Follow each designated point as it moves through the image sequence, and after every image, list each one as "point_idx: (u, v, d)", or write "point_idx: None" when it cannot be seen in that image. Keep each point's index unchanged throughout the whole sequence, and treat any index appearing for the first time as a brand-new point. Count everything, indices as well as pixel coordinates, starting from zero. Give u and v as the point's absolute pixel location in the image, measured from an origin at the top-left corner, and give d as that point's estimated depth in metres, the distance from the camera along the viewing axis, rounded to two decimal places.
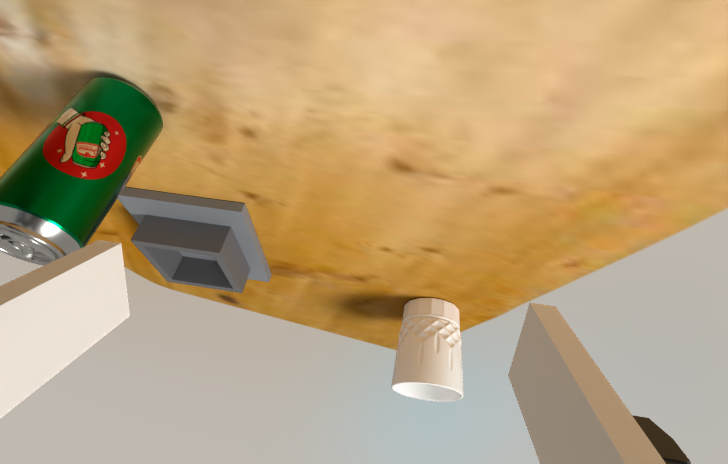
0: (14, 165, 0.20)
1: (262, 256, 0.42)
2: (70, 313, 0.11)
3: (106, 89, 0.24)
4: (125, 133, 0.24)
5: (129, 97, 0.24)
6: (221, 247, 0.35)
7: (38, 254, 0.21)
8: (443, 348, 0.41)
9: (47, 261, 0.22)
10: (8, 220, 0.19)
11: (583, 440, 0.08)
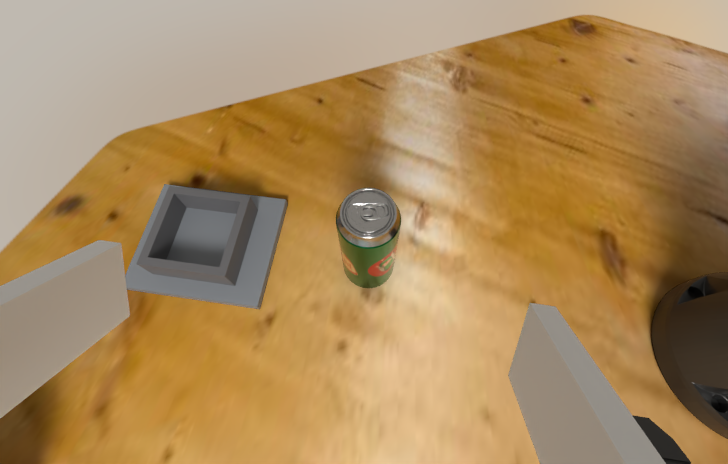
0: None
1: (172, 295, 0.38)
2: (70, 313, 0.11)
3: (392, 269, 0.38)
4: (376, 276, 0.35)
5: (385, 279, 0.37)
6: (227, 277, 0.36)
7: (351, 211, 0.29)
8: None
9: (347, 215, 0.29)
10: (393, 226, 0.29)
11: (583, 440, 0.08)
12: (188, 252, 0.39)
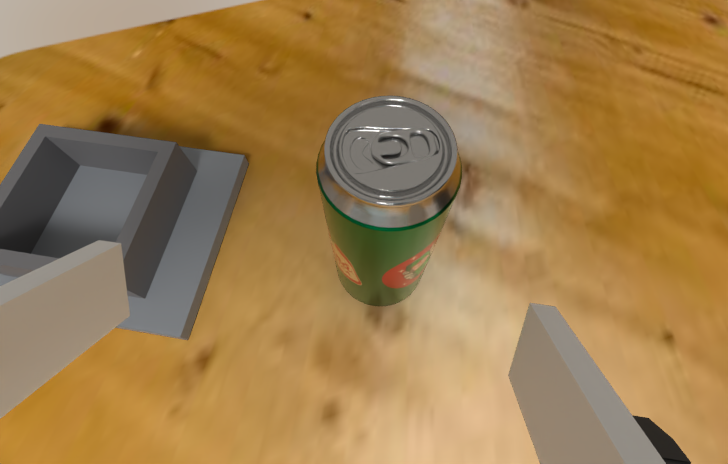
0: None
1: None
2: (70, 313, 0.11)
3: None
4: (396, 289, 0.19)
5: (409, 292, 0.21)
6: None
7: (351, 146, 0.13)
8: None
9: (342, 153, 0.12)
10: (449, 179, 0.12)
11: (583, 440, 0.08)
12: (72, 238, 0.23)
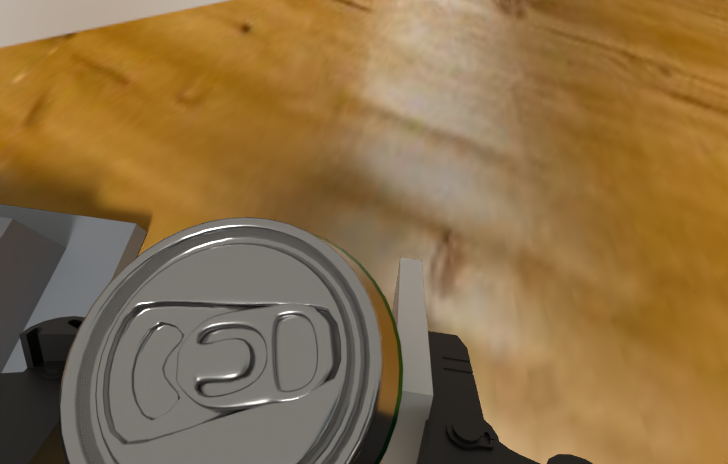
0: None
1: None
2: None
3: None
4: None
5: None
6: None
7: (144, 345, 0.05)
8: None
9: (104, 379, 0.05)
10: (363, 436, 0.05)
11: None
12: None
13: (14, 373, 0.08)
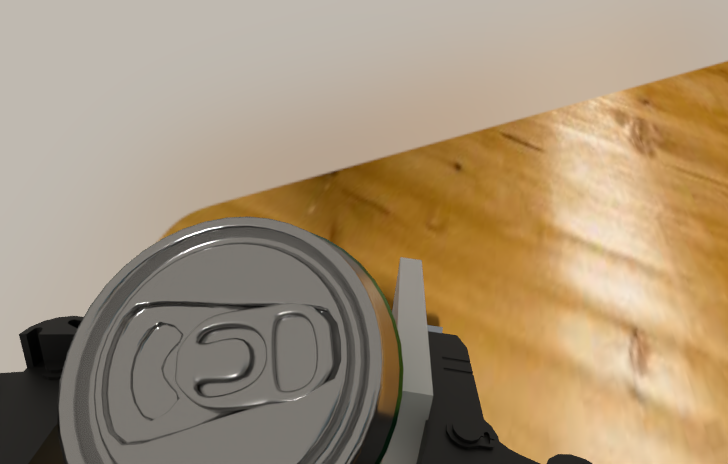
0: None
1: None
2: None
3: None
4: None
5: None
6: None
7: (142, 345, 0.05)
8: None
9: (103, 379, 0.05)
10: (364, 438, 0.05)
11: None
12: None
13: (14, 373, 0.08)
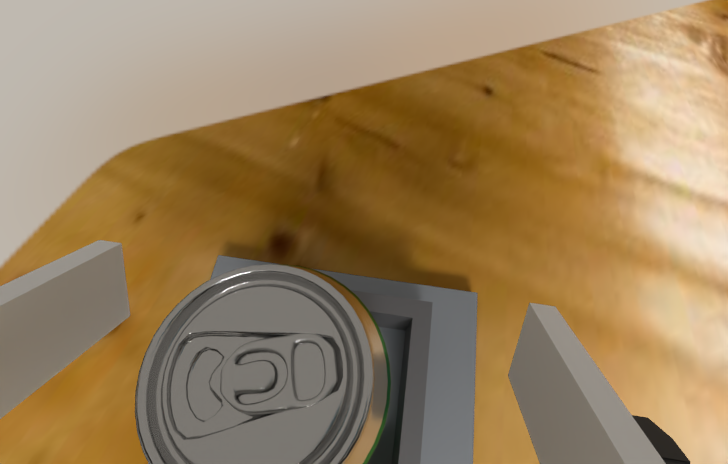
0: None
1: None
2: (70, 313, 0.11)
3: None
4: None
5: None
6: None
7: (193, 365, 0.07)
8: None
9: (167, 391, 0.07)
10: (359, 434, 0.07)
11: (583, 440, 0.08)
12: None
13: None
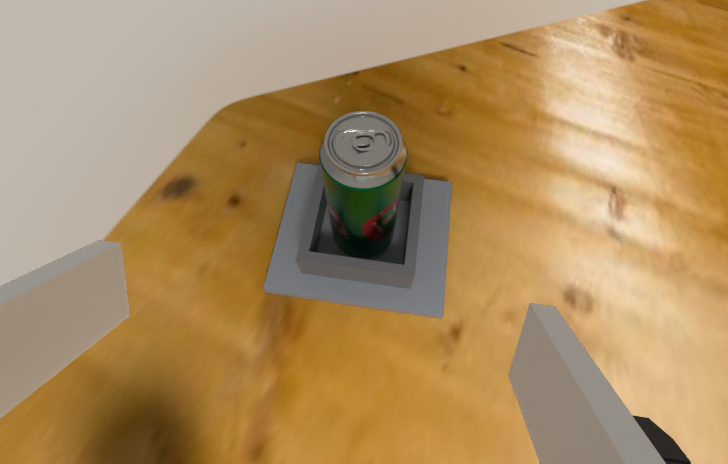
0: None
1: (327, 300, 0.30)
2: (70, 313, 0.11)
3: (392, 234, 0.30)
4: (373, 240, 0.27)
5: (383, 247, 0.30)
6: (413, 278, 0.28)
7: (340, 140, 0.21)
8: None
9: (334, 145, 0.21)
10: (398, 160, 0.21)
11: (583, 440, 0.08)
12: None
13: None
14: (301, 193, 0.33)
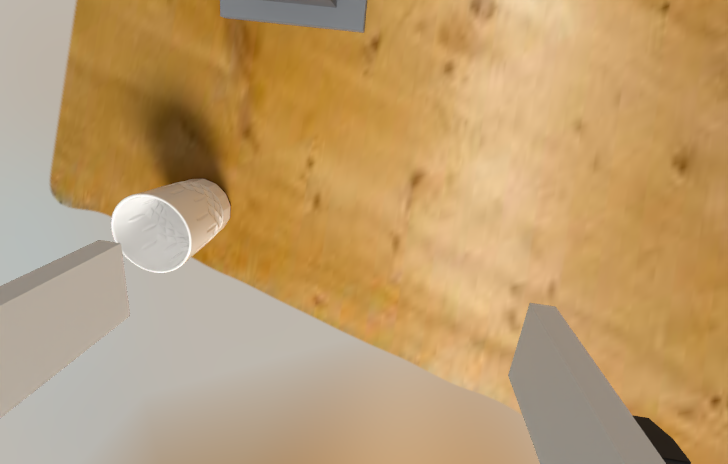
0: None
1: (273, 22, 0.37)
2: (70, 313, 0.11)
3: None
4: None
5: None
6: (331, 1, 0.33)
7: None
8: (209, 235, 0.40)
9: None
10: None
11: (583, 440, 0.08)
12: None
13: None
14: None
